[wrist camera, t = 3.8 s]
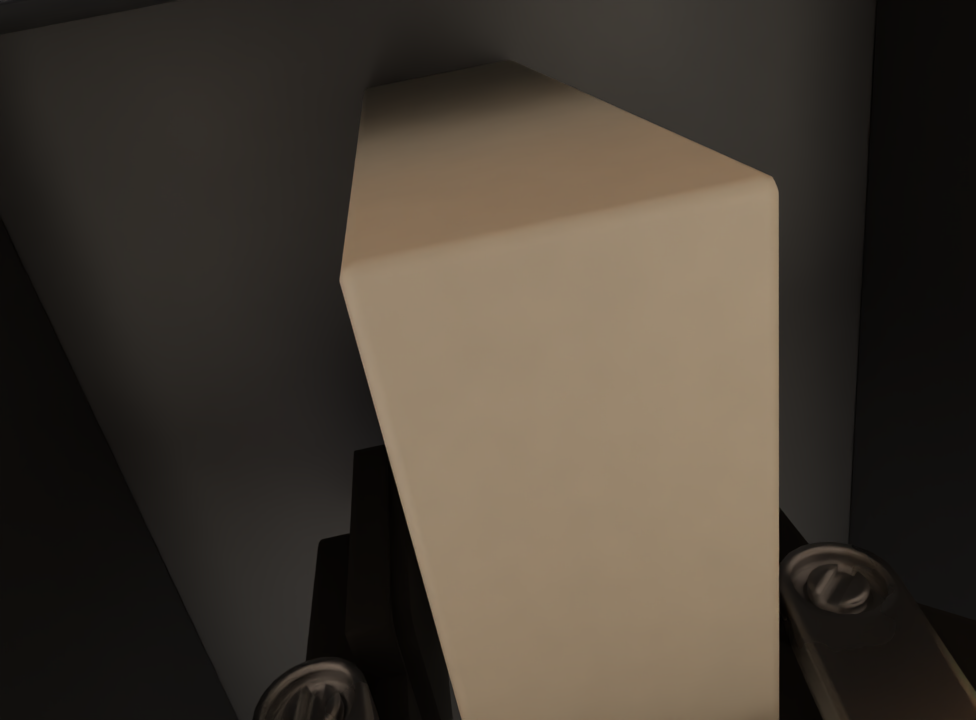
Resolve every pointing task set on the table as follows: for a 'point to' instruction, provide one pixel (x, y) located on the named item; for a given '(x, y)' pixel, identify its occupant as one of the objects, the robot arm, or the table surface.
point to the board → (574, 394)
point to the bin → (326, 323)
